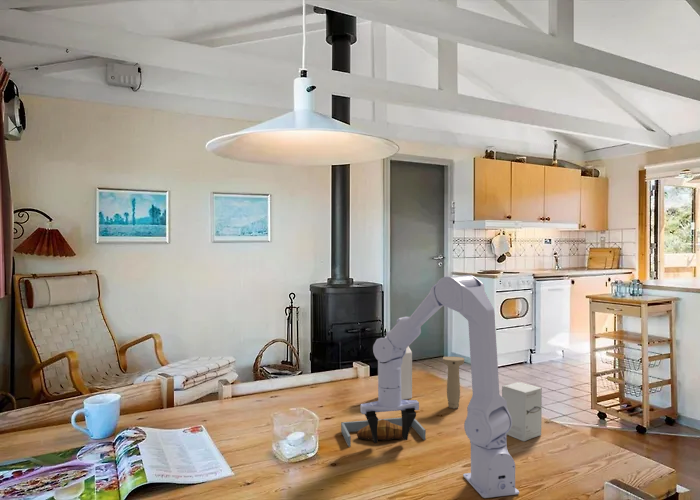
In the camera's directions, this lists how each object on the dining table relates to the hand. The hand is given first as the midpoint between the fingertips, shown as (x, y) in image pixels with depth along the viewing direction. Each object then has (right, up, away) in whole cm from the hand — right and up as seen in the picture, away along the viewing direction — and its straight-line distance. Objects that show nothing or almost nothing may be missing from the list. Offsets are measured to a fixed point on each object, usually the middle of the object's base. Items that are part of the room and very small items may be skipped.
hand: (389, 440), depth 119 cm
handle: (+22, -1, +28) cm, 35 cm away
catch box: (-1, -1, +7) cm, 7 cm away
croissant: (-1, -2, +5) cm, 6 cm away
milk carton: (+5, -1, +38) cm, 38 cm away
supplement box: (+35, -2, +7) cm, 36 cm away
